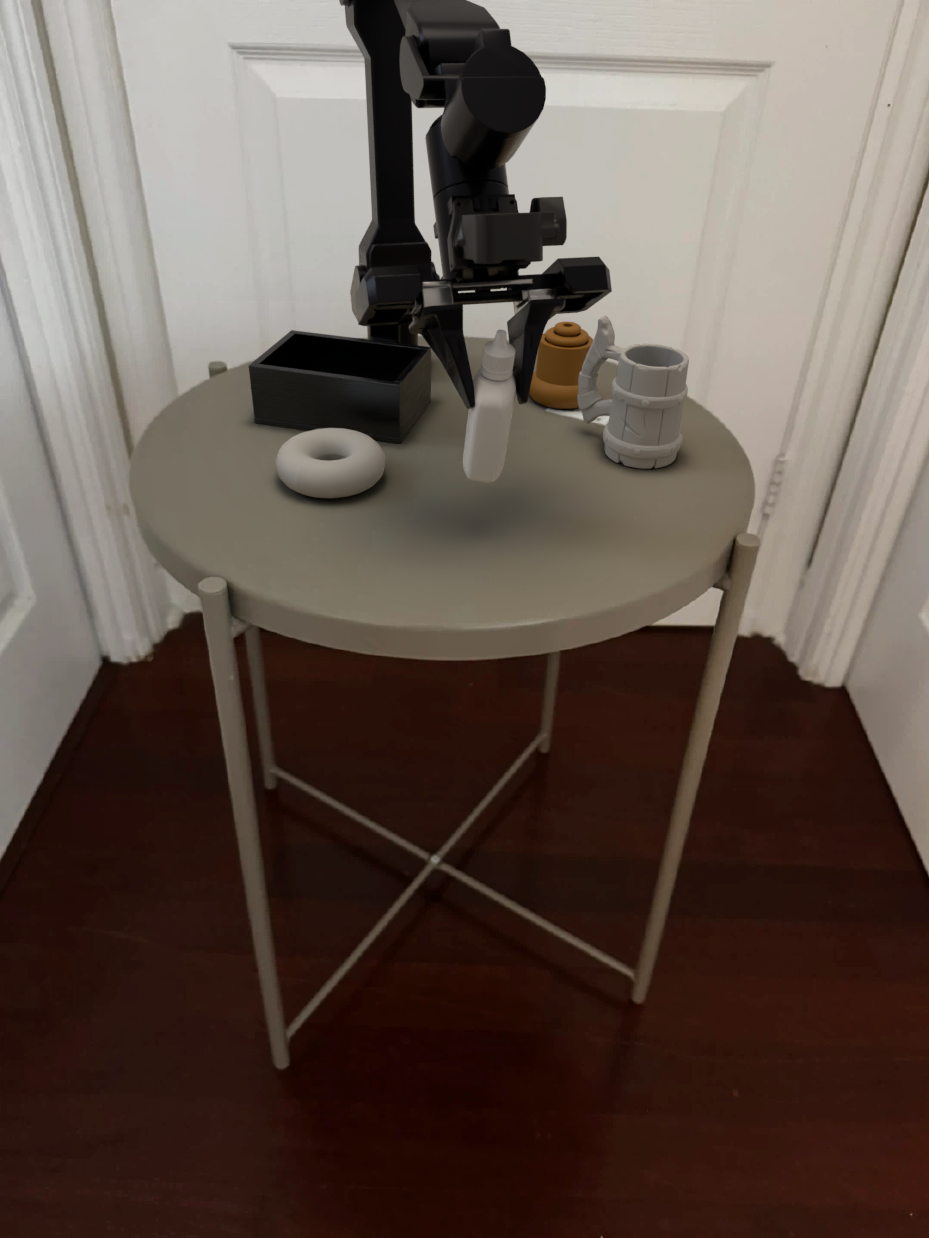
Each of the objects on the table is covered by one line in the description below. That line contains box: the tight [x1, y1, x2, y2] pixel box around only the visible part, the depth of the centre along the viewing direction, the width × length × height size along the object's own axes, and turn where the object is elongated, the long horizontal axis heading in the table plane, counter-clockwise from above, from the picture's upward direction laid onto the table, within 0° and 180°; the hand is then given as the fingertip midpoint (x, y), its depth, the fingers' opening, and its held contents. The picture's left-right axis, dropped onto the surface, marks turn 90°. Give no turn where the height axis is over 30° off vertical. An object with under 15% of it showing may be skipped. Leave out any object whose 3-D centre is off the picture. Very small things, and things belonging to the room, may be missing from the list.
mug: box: [577, 315, 690, 470], centre depth 90 cm, size 8×12×12 cm, turn 48°
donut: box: [274, 428, 387, 499], centre depth 86 cm, size 10×4×10 cm
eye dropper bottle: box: [462, 329, 516, 484], centre depth 73 cm, size 4×6×12 cm
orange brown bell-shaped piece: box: [529, 321, 598, 410], centre depth 100 cm, size 8×8×8 cm
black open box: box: [248, 329, 432, 445], centre depth 96 cm, size 11×16×6 cm
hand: (497, 405), depth 71 cm, fingers closed on eye dropper bottle, 4 cm apart
